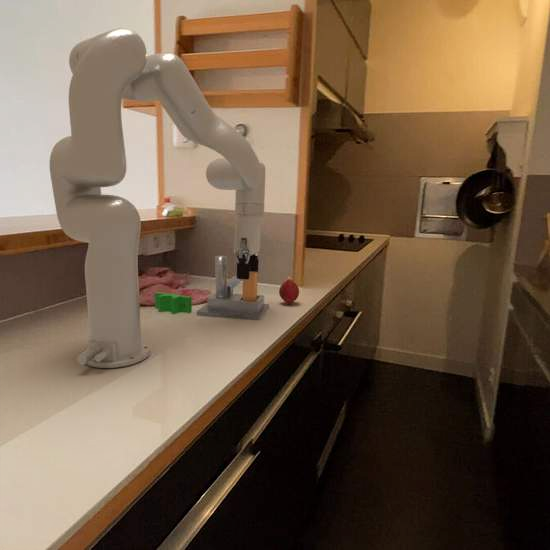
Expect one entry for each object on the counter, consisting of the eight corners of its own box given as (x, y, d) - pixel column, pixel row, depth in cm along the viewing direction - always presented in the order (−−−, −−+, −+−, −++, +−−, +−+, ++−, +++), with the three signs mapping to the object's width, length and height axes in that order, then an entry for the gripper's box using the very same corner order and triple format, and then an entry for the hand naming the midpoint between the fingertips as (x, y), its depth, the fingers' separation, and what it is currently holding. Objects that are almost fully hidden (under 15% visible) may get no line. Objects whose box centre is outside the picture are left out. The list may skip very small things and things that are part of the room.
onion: (302, 303, 127) (303, 277, 125) (292, 307, 122) (292, 280, 120) (285, 300, 130) (286, 274, 128) (275, 304, 125) (275, 277, 124)
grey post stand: (258, 319, 110) (259, 262, 107) (196, 315, 114) (195, 259, 111) (275, 299, 131) (275, 250, 128) (221, 295, 134) (221, 248, 131)
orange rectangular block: (242, 309, 116) (242, 273, 114) (245, 306, 119) (245, 271, 117) (254, 310, 115) (254, 274, 113) (257, 307, 118) (257, 271, 116)
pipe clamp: (149, 311, 117) (148, 295, 116) (158, 308, 121) (157, 292, 120) (183, 316, 113) (183, 299, 112) (191, 312, 117) (191, 296, 116)
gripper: (244, 209, 120) (242, 269, 123) (225, 210, 104) (224, 280, 107) (270, 210, 119) (268, 271, 122) (255, 212, 102) (253, 282, 105)
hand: (247, 275), depth 114 cm, fingers open, 9 cm apart
